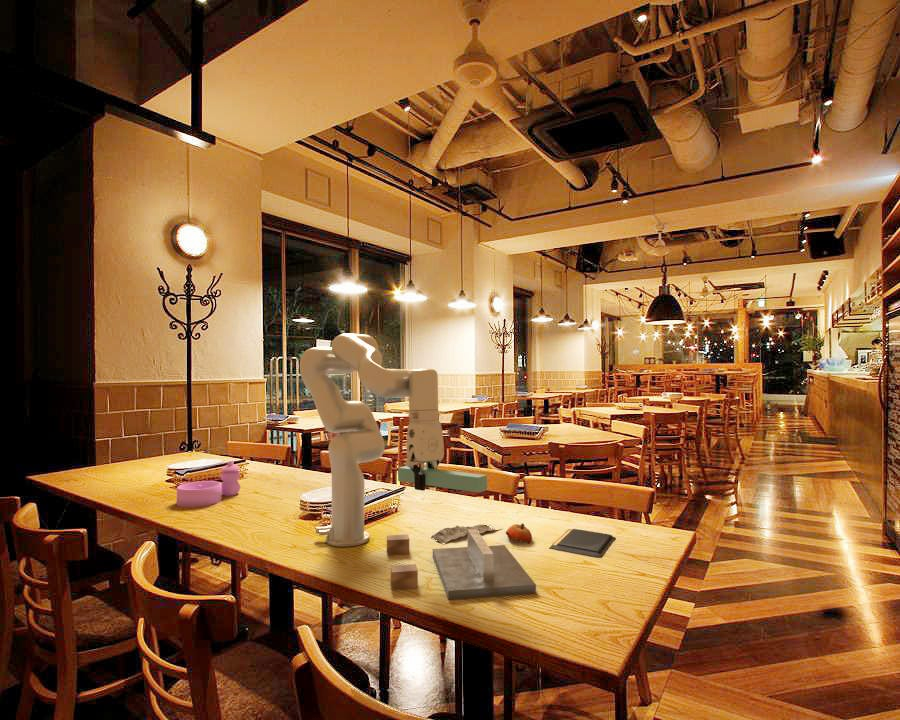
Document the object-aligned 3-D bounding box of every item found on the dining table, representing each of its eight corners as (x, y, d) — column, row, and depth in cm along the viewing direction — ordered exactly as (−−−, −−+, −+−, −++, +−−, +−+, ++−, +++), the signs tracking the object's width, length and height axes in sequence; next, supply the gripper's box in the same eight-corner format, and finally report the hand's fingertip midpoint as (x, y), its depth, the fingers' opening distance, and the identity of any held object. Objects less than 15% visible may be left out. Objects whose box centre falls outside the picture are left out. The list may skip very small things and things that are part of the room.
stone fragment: (427, 542, 149) (451, 550, 142) (427, 533, 149) (451, 540, 142) (482, 523, 167) (506, 529, 160) (482, 514, 167) (506, 520, 160)
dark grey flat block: (600, 554, 133) (546, 543, 141) (600, 561, 133) (546, 550, 141) (618, 533, 150) (569, 525, 158) (618, 539, 150) (569, 531, 158)
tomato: (525, 542, 142) (512, 519, 146) (508, 555, 144) (496, 532, 148) (539, 539, 148) (527, 517, 152) (523, 551, 150) (511, 530, 154)
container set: (193, 509, 180) (194, 472, 180) (167, 504, 187) (168, 468, 187) (250, 494, 202) (251, 462, 202) (225, 490, 209) (226, 458, 209)
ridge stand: (448, 600, 109) (448, 563, 109) (432, 556, 134) (432, 526, 135) (536, 593, 112) (536, 557, 112) (504, 552, 138) (504, 523, 138)
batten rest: (391, 590, 114) (391, 572, 114) (386, 549, 139) (386, 535, 140) (417, 588, 115) (417, 570, 115) (408, 548, 140) (408, 534, 140)
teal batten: (478, 492, 116) (478, 477, 116) (398, 481, 132) (397, 467, 132) (487, 490, 118) (486, 475, 119) (407, 478, 135) (407, 465, 135)
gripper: (413, 419, 120) (414, 496, 119) (455, 414, 133) (456, 484, 132) (390, 418, 125) (392, 492, 124) (433, 414, 138) (434, 481, 137)
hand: (425, 487), depth 128 cm, fingers closed on teal batten, 3 cm apart
